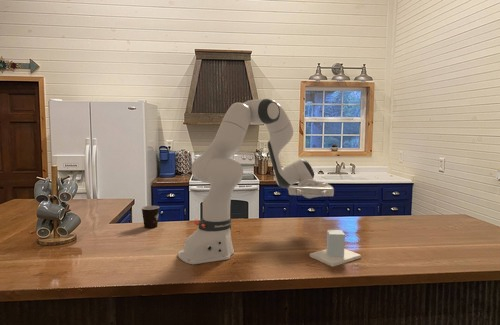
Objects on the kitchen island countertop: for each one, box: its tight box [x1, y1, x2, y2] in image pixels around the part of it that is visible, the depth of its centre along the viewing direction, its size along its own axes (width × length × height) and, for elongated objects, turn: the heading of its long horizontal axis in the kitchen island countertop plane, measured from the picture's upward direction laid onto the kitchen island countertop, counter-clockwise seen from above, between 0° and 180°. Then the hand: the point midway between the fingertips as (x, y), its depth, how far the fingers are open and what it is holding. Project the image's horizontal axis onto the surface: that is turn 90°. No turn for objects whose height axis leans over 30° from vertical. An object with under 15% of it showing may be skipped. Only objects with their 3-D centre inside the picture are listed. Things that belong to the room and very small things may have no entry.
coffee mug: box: [141, 205, 160, 230], centre depth 175 cm, size 12×9×10 cm
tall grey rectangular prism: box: [326, 229, 346, 257], centre depth 134 cm, size 6×6×9 cm
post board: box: [309, 248, 362, 267], centre depth 134 cm, size 16×12×8 cm
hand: (312, 193), depth 147 cm, fingers open, 8 cm apart
